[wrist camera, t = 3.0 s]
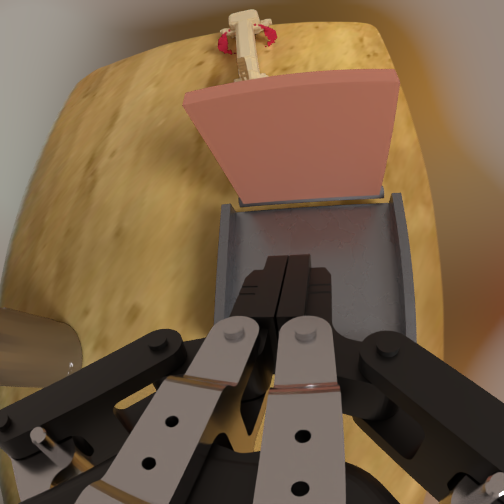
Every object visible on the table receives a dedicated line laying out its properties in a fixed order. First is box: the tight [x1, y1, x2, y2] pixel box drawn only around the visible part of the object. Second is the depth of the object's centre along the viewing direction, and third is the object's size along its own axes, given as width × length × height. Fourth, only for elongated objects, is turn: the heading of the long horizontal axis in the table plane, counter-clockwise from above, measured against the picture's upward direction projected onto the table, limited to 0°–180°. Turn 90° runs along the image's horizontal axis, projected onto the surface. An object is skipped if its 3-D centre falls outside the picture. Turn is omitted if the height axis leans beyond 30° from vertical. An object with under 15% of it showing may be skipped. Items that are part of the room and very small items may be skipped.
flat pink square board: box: [182, 69, 400, 207], centre depth 23 cm, size 2×14×15 cm, turn 88°
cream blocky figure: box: [218, 9, 277, 82], centre depth 40 cm, size 10×9×25 cm
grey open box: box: [214, 193, 417, 343], centre depth 28 cm, size 14×17×5 cm
